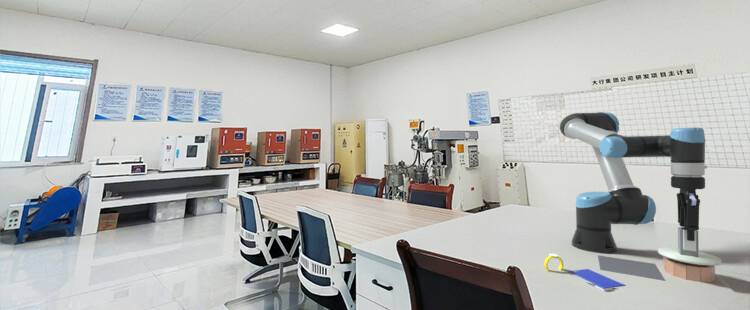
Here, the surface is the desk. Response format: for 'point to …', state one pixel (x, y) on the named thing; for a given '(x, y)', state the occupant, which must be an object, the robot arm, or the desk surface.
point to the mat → (630, 267)
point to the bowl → (689, 270)
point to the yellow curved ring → (550, 258)
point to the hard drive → (597, 279)
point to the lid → (689, 253)
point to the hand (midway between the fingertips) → (688, 248)
